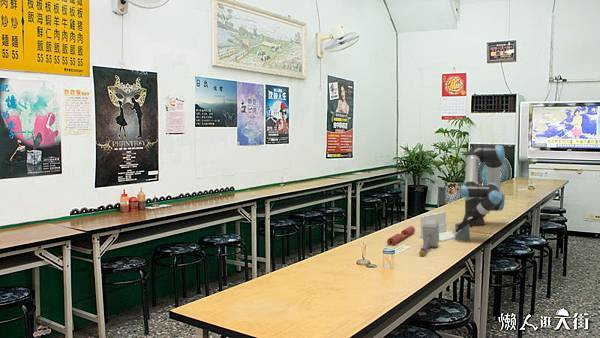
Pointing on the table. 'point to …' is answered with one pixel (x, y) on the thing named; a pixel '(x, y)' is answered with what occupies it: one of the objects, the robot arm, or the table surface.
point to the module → (463, 233)
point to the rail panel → (441, 221)
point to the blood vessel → (400, 236)
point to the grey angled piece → (429, 235)
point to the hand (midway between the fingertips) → (457, 233)
